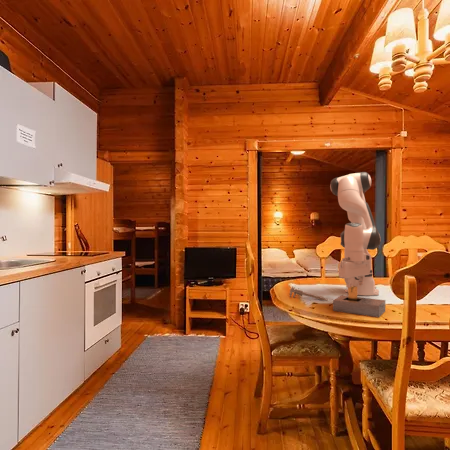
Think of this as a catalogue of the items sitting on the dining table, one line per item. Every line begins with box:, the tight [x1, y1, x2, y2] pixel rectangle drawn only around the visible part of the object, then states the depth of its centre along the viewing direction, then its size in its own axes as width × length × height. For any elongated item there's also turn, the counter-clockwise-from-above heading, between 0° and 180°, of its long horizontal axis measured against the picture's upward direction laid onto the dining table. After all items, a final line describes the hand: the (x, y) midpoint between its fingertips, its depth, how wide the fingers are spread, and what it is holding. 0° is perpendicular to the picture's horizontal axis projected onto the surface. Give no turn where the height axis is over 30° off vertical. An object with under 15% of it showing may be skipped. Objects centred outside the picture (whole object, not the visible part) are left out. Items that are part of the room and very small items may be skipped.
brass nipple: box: [347, 286, 358, 301], centre depth 163 cm, size 4×4×10 cm
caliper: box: [289, 286, 328, 301], centre depth 188 cm, size 20×1×6 cm, turn 63°
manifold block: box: [332, 294, 386, 318], centre depth 160 cm, size 14×20×5 cm
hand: (354, 286), depth 162 cm, fingers open, 8 cm apart
